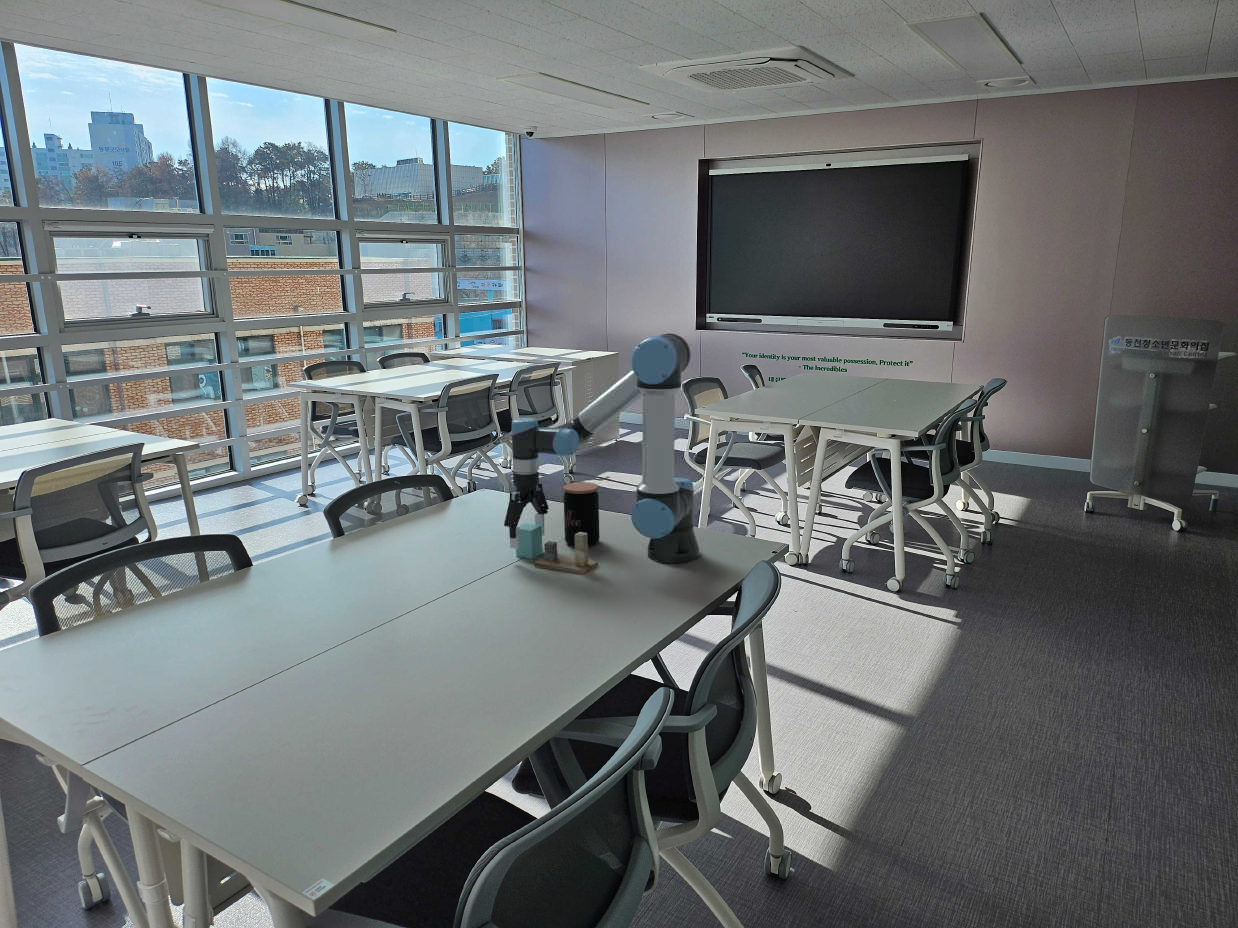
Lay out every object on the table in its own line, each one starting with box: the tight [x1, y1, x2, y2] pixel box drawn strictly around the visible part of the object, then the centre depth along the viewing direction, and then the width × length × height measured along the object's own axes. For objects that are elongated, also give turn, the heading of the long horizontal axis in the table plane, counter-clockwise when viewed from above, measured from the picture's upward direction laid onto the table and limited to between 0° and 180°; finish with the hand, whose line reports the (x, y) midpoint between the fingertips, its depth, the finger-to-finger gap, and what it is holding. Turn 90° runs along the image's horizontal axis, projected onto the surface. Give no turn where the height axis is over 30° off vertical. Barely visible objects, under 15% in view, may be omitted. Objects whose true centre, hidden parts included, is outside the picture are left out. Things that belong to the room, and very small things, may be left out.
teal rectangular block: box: [515, 522, 543, 560], centre depth 246 cm, size 6×6×9 cm
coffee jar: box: [562, 481, 601, 548], centre depth 254 cm, size 11×11×18 cm
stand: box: [534, 532, 599, 575], centre depth 235 cm, size 8×16×10 cm, turn 63°
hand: (527, 541), depth 246 cm, fingers open, 13 cm apart
